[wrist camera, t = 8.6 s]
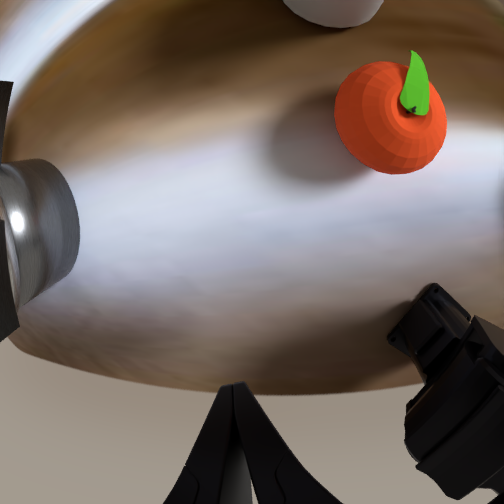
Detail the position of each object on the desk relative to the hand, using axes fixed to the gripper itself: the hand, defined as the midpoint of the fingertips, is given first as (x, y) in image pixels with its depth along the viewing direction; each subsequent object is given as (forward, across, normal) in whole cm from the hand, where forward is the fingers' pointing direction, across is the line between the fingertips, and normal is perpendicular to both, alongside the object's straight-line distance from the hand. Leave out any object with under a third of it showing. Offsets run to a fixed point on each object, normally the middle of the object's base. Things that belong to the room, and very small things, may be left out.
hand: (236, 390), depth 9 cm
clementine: (+12, -13, -7) cm, 19 cm away
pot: (+19, +17, -9) cm, 27 cm away
